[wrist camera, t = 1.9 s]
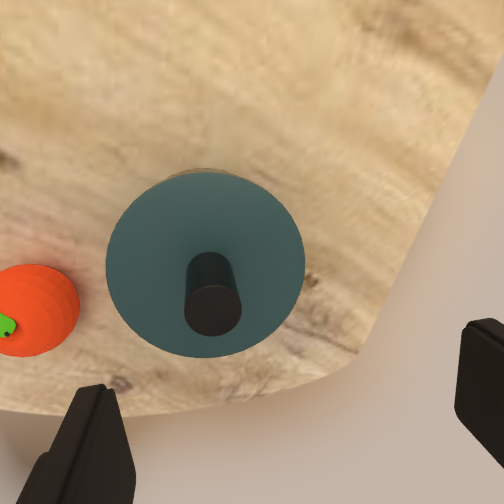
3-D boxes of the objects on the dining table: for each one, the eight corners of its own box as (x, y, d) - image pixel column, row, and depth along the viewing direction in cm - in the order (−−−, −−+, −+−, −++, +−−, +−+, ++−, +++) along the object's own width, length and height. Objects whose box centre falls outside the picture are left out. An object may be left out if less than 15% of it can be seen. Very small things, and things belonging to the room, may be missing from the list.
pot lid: (130, 361, 27) (109, 433, 20) (89, 181, 22) (48, 201, 16) (304, 334, 28) (335, 393, 22) (296, 160, 24) (333, 171, 17)
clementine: (-29, 280, 30) (-94, 323, 23) (31, 225, 29) (-18, 253, 22) (51, 341, 32) (13, 396, 26) (107, 292, 32) (84, 335, 25)
